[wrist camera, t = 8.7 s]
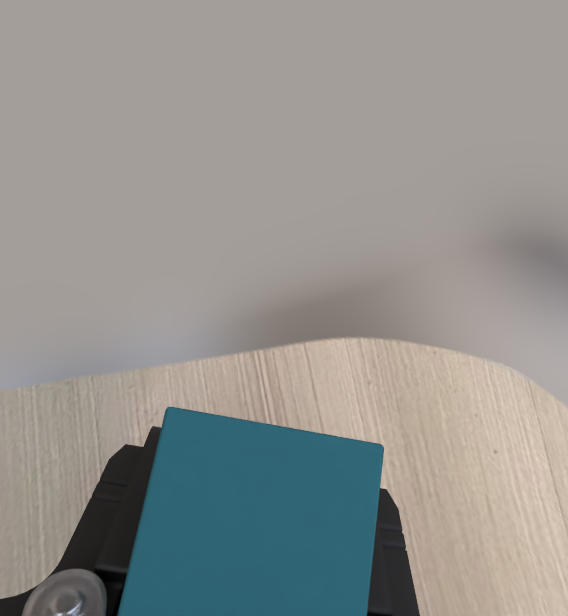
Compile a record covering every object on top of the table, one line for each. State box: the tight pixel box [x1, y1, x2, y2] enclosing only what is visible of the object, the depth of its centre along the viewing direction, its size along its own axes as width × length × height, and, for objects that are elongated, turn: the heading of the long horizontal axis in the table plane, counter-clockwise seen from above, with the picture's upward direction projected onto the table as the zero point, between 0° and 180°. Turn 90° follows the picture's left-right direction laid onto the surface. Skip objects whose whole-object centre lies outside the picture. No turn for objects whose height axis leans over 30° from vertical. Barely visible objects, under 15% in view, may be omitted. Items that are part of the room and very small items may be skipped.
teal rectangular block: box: [117, 407, 384, 616], centre depth 12 cm, size 4×6×9 cm, turn 171°
